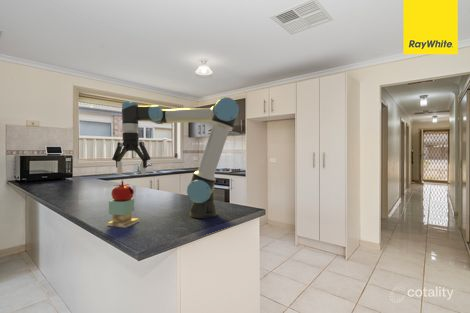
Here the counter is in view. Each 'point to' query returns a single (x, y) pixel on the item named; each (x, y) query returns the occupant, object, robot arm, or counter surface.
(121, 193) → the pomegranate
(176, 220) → the counter surface
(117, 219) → the plate
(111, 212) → the cup block
